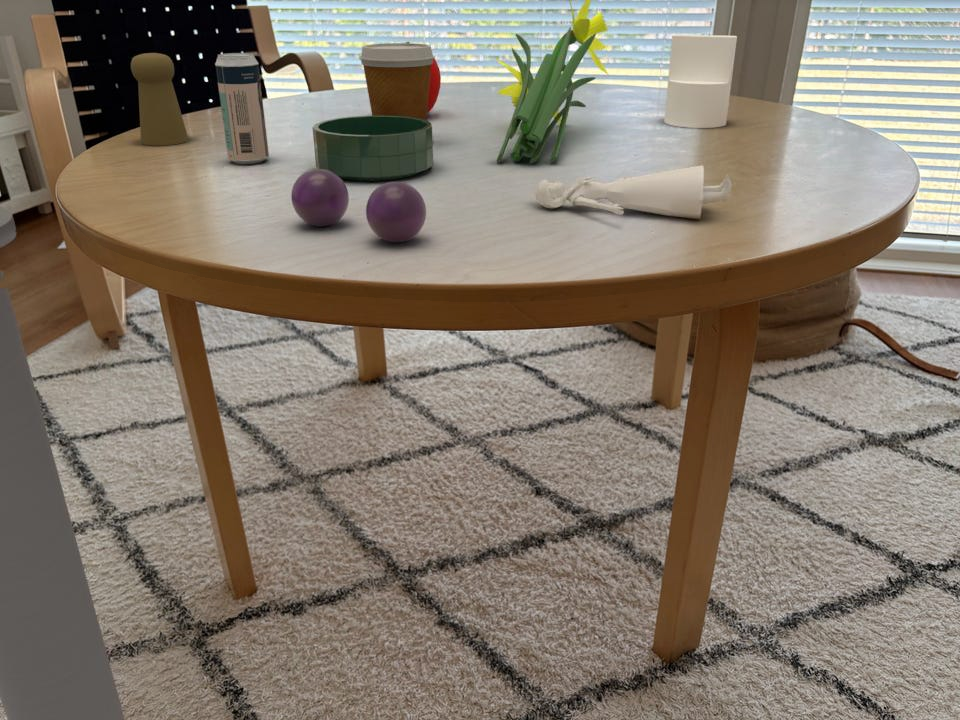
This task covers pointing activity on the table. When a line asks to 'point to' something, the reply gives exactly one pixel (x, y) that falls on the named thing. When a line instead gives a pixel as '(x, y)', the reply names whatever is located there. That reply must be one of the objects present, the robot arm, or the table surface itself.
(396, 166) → the bowl
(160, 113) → the olive pawn
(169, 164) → the table surface
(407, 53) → the disposable coffee cup
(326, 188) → the ball left
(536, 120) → the daffodil flowers
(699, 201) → the woman figurine
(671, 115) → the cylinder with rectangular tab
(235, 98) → the beer can
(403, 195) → the ball front
